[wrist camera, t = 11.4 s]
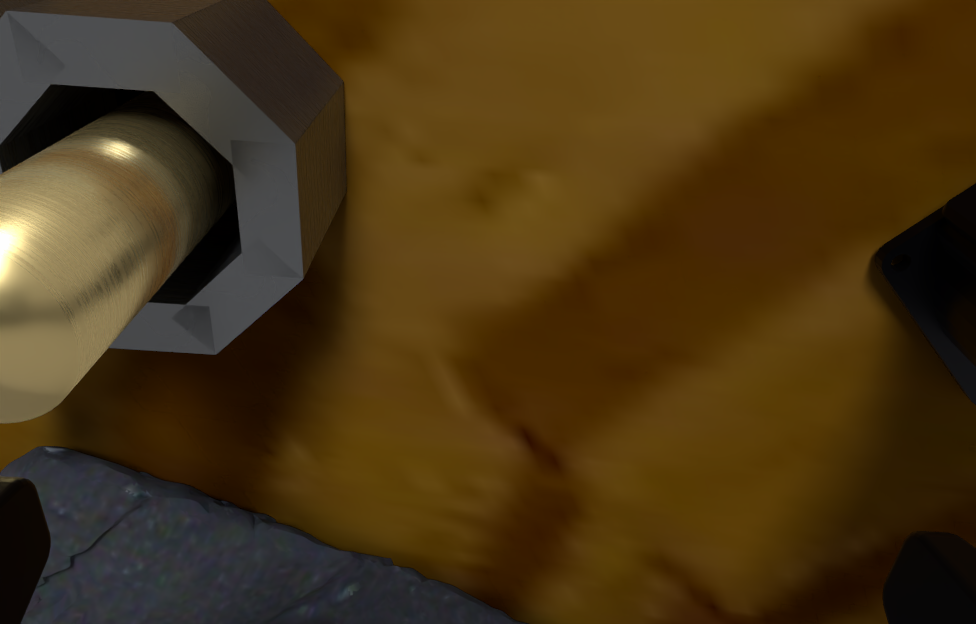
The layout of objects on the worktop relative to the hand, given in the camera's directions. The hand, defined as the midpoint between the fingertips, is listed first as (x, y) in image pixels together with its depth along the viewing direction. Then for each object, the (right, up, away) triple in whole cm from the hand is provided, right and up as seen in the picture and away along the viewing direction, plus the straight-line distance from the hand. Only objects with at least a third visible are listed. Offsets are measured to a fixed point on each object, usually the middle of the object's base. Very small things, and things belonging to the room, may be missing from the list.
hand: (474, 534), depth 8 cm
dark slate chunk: (-8, -10, +21) cm, 25 cm away
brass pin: (-7, +7, +11) cm, 15 cm away
